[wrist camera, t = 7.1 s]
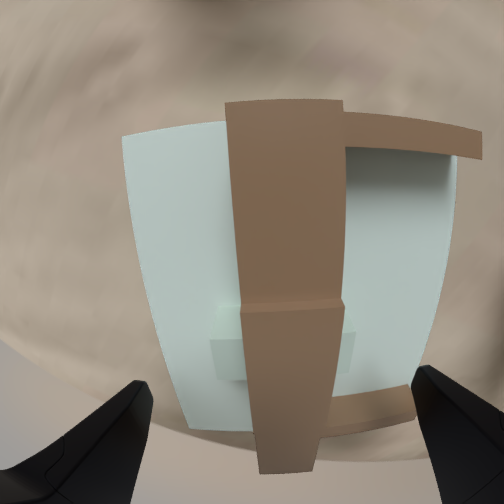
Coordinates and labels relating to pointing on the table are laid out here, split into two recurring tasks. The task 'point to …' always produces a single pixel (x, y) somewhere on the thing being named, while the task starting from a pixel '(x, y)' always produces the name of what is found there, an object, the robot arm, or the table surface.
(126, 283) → the table surface
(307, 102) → the brown c-shaped bracket
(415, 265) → the stand
